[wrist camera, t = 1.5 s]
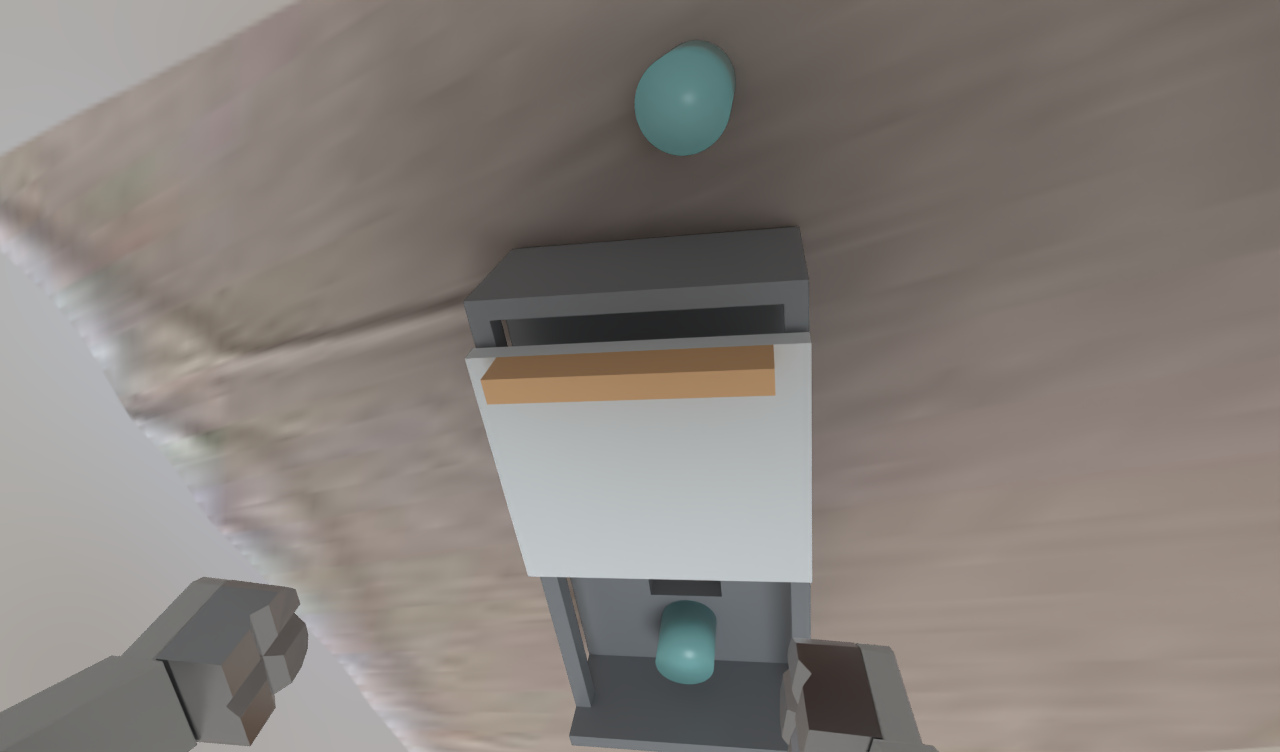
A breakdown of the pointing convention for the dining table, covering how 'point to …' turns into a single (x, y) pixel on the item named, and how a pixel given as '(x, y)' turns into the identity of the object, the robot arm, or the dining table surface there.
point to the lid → (655, 455)
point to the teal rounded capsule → (686, 98)
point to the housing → (661, 608)
